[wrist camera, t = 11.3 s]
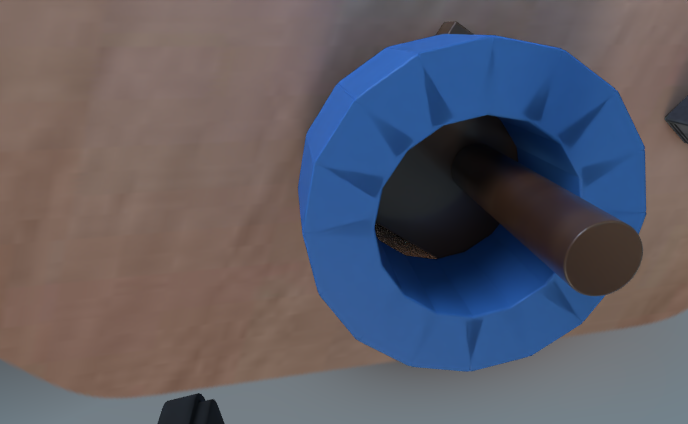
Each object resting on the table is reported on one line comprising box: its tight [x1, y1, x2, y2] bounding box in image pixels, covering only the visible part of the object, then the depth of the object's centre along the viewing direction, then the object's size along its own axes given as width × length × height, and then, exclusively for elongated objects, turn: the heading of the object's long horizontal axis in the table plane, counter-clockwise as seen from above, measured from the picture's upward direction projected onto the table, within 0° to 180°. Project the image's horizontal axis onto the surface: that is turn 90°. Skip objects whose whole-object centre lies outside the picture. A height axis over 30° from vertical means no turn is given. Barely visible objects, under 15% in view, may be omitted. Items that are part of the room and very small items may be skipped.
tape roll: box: [298, 34, 646, 371], centre depth 19 cm, size 11×11×5 cm
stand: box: [376, 22, 643, 296], centre depth 18 cm, size 8×8×10 cm
